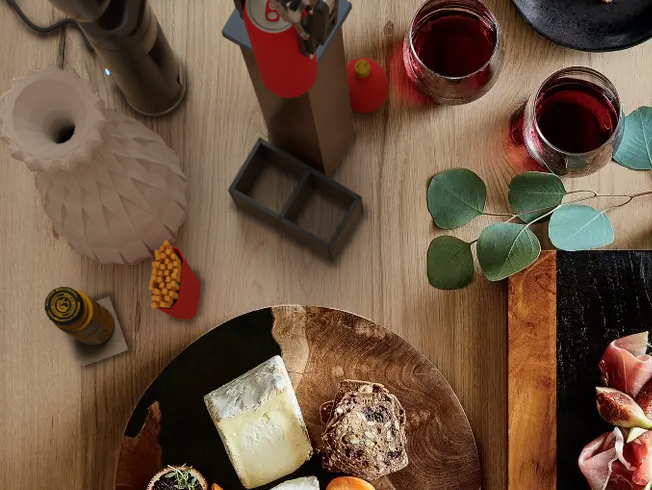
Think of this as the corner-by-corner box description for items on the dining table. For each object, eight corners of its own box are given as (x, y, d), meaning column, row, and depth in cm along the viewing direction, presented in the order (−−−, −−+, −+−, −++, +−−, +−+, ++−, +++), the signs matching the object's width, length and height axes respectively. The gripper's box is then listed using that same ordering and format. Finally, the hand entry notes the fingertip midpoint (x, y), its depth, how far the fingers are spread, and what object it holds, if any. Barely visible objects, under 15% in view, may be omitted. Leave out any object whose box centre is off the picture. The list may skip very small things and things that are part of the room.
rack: (236, 206, 122) (227, 190, 116) (266, 155, 122) (259, 136, 116) (333, 263, 122) (330, 250, 116) (363, 212, 122) (362, 196, 116)
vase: (53, 263, 122) (-59, 181, 92) (85, 133, 122) (-16, 9, 92) (183, 295, 122) (113, 223, 92) (215, 164, 122) (156, 49, 92)
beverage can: (321, 46, 88) (310, -27, 76) (315, 104, 88) (303, 40, 76) (263, 40, 88) (243, -34, 76) (257, 98, 88) (236, 33, 76)
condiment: (109, 296, 122) (77, 272, 110) (128, 350, 122) (99, 331, 110) (63, 313, 122) (27, 291, 110) (83, 366, 122) (48, 350, 110)
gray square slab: (222, 36, 92) (220, 31, 91) (267, -41, 92) (266, -47, 91) (307, 85, 92) (306, 80, 91) (352, 8, 92) (351, 2, 91)
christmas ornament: (355, 131, 122) (351, 96, 112) (332, 89, 122) (326, 51, 112) (397, 107, 122) (397, 70, 112) (374, 66, 122) (371, 25, 112)
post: (275, 151, 122) (234, 33, 92) (302, 105, 122) (271, -29, 92) (327, 182, 122) (303, 73, 92) (354, 135, 122) (340, 11, 92)
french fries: (174, 266, 122) (148, 236, 109) (203, 269, 122) (180, 240, 109) (167, 327, 122) (140, 305, 109) (196, 330, 122) (172, 308, 109)
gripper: (354, -90, 64) (362, 34, 81) (196, -184, 64) (236, -40, 81) (305, -7, 64) (322, 100, 81) (146, -101, 64) (197, 26, 81)
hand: (279, 30), depth 81 cm, fingers closed on beverage can, 6 cm apart
